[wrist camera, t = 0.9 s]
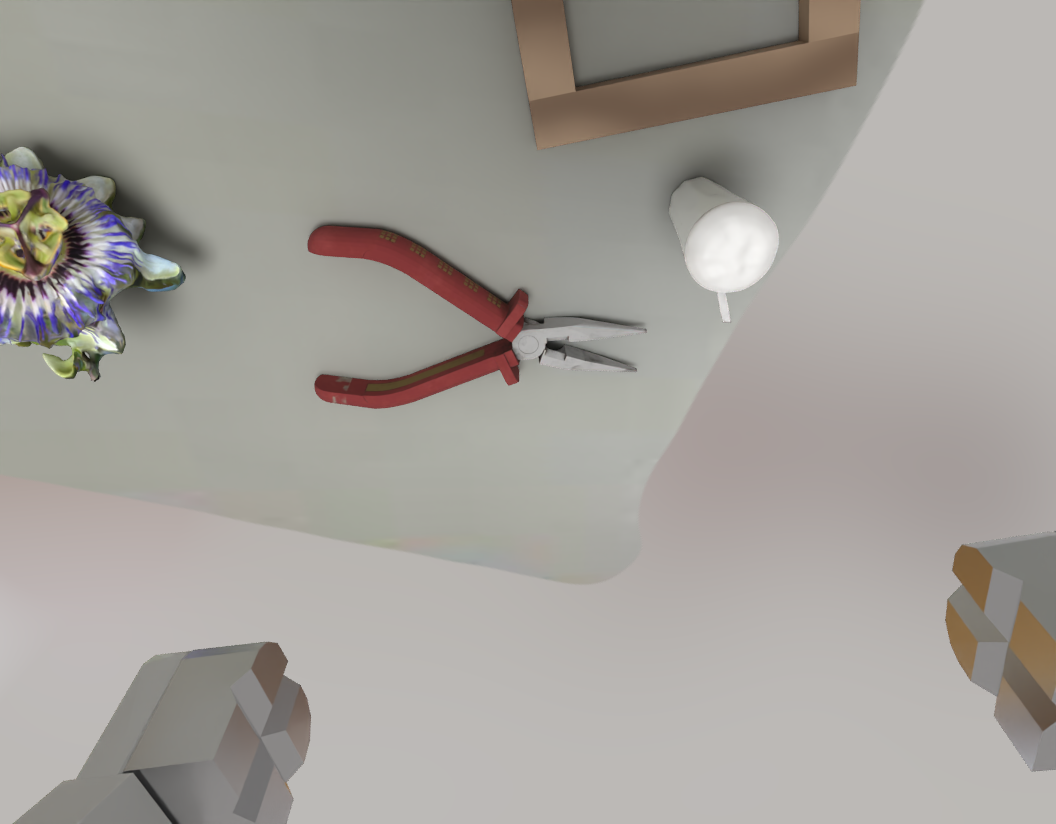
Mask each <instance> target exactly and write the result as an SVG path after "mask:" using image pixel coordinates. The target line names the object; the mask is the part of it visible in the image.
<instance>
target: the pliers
mask: <svg viewBox="0 0 1056 824" xmlns="http://www.w3.org/2000/svg"><path fill="white" fill-rule="evenodd" d="M308 251H309V252H311V253H314V254H317V255H323V256H335V257H348V258H363V259H369V260H373V261H377V262H381V263H384V264H386V265H389V266H391V267H393V268H396V269H398V270H400V271H402V272H403V273H405V274H407V275H409V276H410V277H412V278H413V279H415V280H416V281H418V282H419V283H421V284H423V285H424V286H426V287H427V288H429V289H430V290H432V291H433V292H435V293H436V294H438V295H439V296H441V297H442V298H444V299H446V300H447V301H449V302H450V303H452V304H453V305H455V306H456V307H458V308H459V309H461V310H462V311H464V312H465V313H467V314H469V315H470V316H472V317H473V318H475V319H476V320H478V321H479V322H481V323H482V324H484V325H485V326H487V327H488V328H490V329H492V330H493V331H495V332H496V334H498V335H499V336H501V337H502V338H504V339H501V340H499V341H496V342H493V343H491V344H488V345H485V346H483V347H480V348H478V349H475V350H472V351H470V352H467V353H465V354H462V355H459V356H457V357H454V358H452V359H449V360H446V361H444V362H441V363H439V364H436V365H433V366H431V367H428V368H426V369H423V370H420V371H418V372H415V373H413V374H410V375H407V376H403V377H400V378H395V379H389V380H364V379H356V378H348V377H340V376H332V375H320V376H319V377H318V378H317V379H316V381H315V392H316V394H317V395H318V396H319V397H320V398H321V399H322V400H324V401H326V402H330V403H338V404H345V405H352V406H360V407H367V408H374V409H377V408H389V407H395V406H400V405H404V404H408V403H411V402H415V401H417V400H420V399H423V398H425V397H428V396H431V395H433V394H436V393H439V392H441V391H444V390H447V389H449V388H452V387H455V386H457V385H460V384H463V383H465V382H468V381H471V380H473V379H476V378H479V377H481V376H484V375H487V374H489V373H492V372H495V371H497V370H500V371H501V373H502V375H503V377H504V379H505V381H506V383H507V384H508V385H512V384H515V383H517V382H519V369H518V367H517V365H519V362H520V360H528V359H535V358H537V357H539V364H542V365H546V366H551V367H555V368H561V369H566V370H589V371H620V372H637V369H636V368H634V367H631V366H628V365H626V364H623V363H620V362H617V361H614V360H611V359H608V358H605V357H602V356H600V355H597V354H594V353H591V352H588V351H585V350H582V349H579V348H575V347H572V346H568V345H565V344H564V346H563V347H562V348H561V349H559V350H557V351H554V350H551V349H548V348H547V347H546V345H545V344H547V341H556V340H568V341H569V342H576V341H589V340H597V339H604V338H612V337H619V336H626V335H634V334H641V333H647V330H646V329H643V328H637V327H631V326H625V325H619V324H613V323H607V322H601V321H595V320H589V319H583V318H575V317H550V318H544V324H539V323H538V322H536V321H534V320H530V319H527V318H524V315H523V314H524V312H525V311H526V309H527V307H528V295H527V294H526V293H524V292H523V291H522V290H520V289H518V291H517V292H516V293H515V295H514V296H513V297H512V299H511V300H510V301H509V302H508V304H506V303H505V302H503V301H502V300H500V299H499V298H497V297H496V296H494V295H493V294H491V293H490V292H488V291H487V290H485V289H484V288H482V287H481V286H479V285H478V284H476V283H475V282H473V281H472V280H470V279H469V278H467V277H466V276H464V275H463V274H461V273H460V272H458V271H457V270H455V269H454V268H452V267H451V266H449V265H448V264H447V263H445V262H444V261H442V260H441V259H439V258H438V257H436V256H435V255H433V254H432V253H430V252H429V251H427V250H426V249H424V248H423V247H421V246H419V245H417V244H416V243H414V242H412V241H410V240H408V239H406V238H404V237H401V236H399V235H397V234H394V233H392V232H388V231H385V230H381V229H371V228H356V227H341V226H322V227H319V228H317V229H316V230H314V231H313V232H312V234H311V235H310V237H309V240H308Z"/></svg>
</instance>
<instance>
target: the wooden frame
mask: <svg viewBox="0 0 1056 824" xmlns="http://www.w3.org/2000/svg"><path fill="white" fill-rule="evenodd" d="M860 1H861V0H799V41H794V42H789V43H785V44H780V45H775V46H770V47H766V48H761V49H756V50H751V51H747V52H742V53H737V54H732V55H728V56H723V57H718V58H713V59H708V60H704V61H699V62H694V63H689V64H685V65H680V66H675V67H670V68H666V69H661V70H656V71H651V72H647V73H642V74H637V75H632V76H627V77H623V78H618V79H613V80H608V81H604V82H599V83H594V84H589V85H585V86H580V87H575V83H574V76H573V69H572V62H571V55H570V48H569V41H568V34H567V27H566V20H565V13H564V6H563V0H511V3H512V8H513V14H514V20H515V25H516V31H517V37H518V42H519V48H520V54H521V59H522V65H523V71H524V76H525V82H526V88H527V93H528V99H529V105H530V111H531V116H532V122H533V128H534V133H535V139H536V145H537V150H540V149H545V148H550V147H555V146H560V145H565V144H570V143H575V142H580V141H585V140H590V139H595V138H599V137H604V136H609V135H614V134H619V133H624V132H629V131H634V130H639V129H644V128H649V127H654V126H659V125H664V124H668V123H673V122H678V121H683V120H688V119H693V118H698V117H703V116H708V115H713V114H718V113H723V112H728V111H732V110H737V109H742V108H747V107H752V106H757V105H762V104H767V103H772V102H777V101H782V100H787V99H792V98H797V97H801V96H806V95H811V94H816V93H821V92H826V91H831V90H836V89H841V88H846V87H851V86H856V82H857V62H858V42H859V21H860Z"/></svg>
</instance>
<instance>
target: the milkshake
mask: <svg viewBox="0 0 1056 824" xmlns="http://www.w3.org/2000/svg"><path fill="white" fill-rule="evenodd" d="M669 214H670V217H671V219H672V222H673V225H674V227H675V230H676V233H677V235H678V238H679V241H680V244H681V248H682V252H683V255H684V258H685V262H686V266H687V268H688V270H689V272H690V274H691V276H692V277H693V279H694V280H695V281H696V282H697V283H698V284H699V285H700V286H702V287H703V288H706V289H708V290H711V291H715V292H717V297H718V302H719V308H720V313H721V319H722V322H725V323H731V318H730V312H729V307H728V302H727V297H726V293H728V292H736V291H740V290H744V289H746V288H748V287H750V286H751V285H753V284H754V283H756V282H757V281H758V280H760V279H761V278H762V277H763V276H764V275H765V274H766V273H767V271H768V270H769V269H770V267H771V265H772V263H773V261H774V258H775V256H776V253H777V250H778V246H779V234H778V229H777V226H776V224H775V223H774V221H773V220H772V218H771V217H770V216H769V215H768V214H767V213H766V212H765V211H764V210H763V209H761V208H760V207H758V206H756V205H754V204H752V203H750V202H748V201H746V200H744V199H742V198H740V197H738V196H736V195H735V194H733V193H732V192H730V191H729V190H727V189H726V188H724V187H722V186H721V185H719V184H717V183H715V182H713V181H711V180H709V179H707V178H705V177H699V178H694V179H690V180H685V181H684V182H683V183H682V184H681V185H680V186H679V187H678V188H677V189H676V190H675V191H674V192H673V193H672V197H671V202H670V207H669Z"/></svg>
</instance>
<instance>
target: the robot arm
mask: <svg viewBox="0 0 1056 824" xmlns="http://www.w3.org/2000/svg"><path fill="white" fill-rule="evenodd" d="M952 571H953V573H954V574H955V575H956V576H957V578H958V579H959V580H960V582H961V583H962V585H961V586H960V587H959V588H958V589H957V590H956V591H955V592H954V593H953V594H952V595H951V596H950V597H949V598H948V600H947V610H946V619H945V621H946V626H947V631H948V635H949V639H950V644H951V646H952V649H953V651H954V653H955V655H956V658H957V660H958V662H959V664H960V665H961V667H962V668H963V670H964V671H965V673H966V674H967V676H968V677H969V679H970V681H972V682H973V683H975V684H977V685H978V686H980V687H982V688H983V689H985V690H987V691H988V692H990V693H992V694H993V695H995V696H997V698H996V705H995V711H994V716H995V718H996V720H997V721H998V722H999V724H1000V725H1001V727H1002V729H1003V730H1004V731H1005V733H1006V734H1007V736H1008V737H1009V739H1010V740H1011V742H1012V743H1013V745H1014V746H1015V748H1016V749H1017V751H1018V752H1019V754H1020V755H1021V757H1022V758H1023V760H1024V761H1025V762H1026V764H1027V765H1028V767H1029V768H1030V770H1031V771H1043V770H1056V531H1055V532H1043V533H1037V534H1030V535H1023V536H1016V537H1009V538H1003V539H996V540H990V541H983V542H976V543H969V544H962V545H961V547H960V548H959V549H958V551H957V552H956V553H955V557H954V562H953V568H952ZM287 663H288V660H287V658H286V657H285V655H284V653H283V652H282V650H281V648H280V646H279V645H278V643H273V642H260V643H251V644H243V645H234V646H225V647H216V648H208V649H198V650H193V651H188V652H179V653H170V654H161V655H155V656H154V657H152V658H151V659H150V660H148V661H147V662H145V663H144V664H143V665H142V667H141V669H140V670H139V672H138V674H137V675H136V677H135V679H134V681H133V682H132V684H131V686H130V688H129V689H128V691H127V693H126V694H125V696H124V698H123V699H122V701H121V703H120V705H119V706H118V708H117V710H116V712H115V713H114V715H113V717H112V718H111V720H110V722H109V723H108V725H107V727H106V729H105V730H104V732H103V734H102V735H101V737H100V739H99V740H98V742H97V744H96V746H95V747H94V749H93V751H92V753H91V754H90V756H89V758H88V759H87V761H86V763H85V765H84V766H83V768H82V770H81V771H80V773H79V775H78V776H77V778H76V779H74V780H68V781H63V782H62V783H60V784H59V785H58V786H57V787H56V788H54V789H53V790H52V791H51V792H50V793H49V794H47V795H46V796H45V797H44V798H43V799H41V800H40V801H39V802H38V803H37V804H36V805H34V806H33V807H32V808H31V809H30V810H28V811H27V812H26V813H25V814H24V815H22V816H21V817H20V818H19V819H18V820H17V821H15V822H14V823H13V824H286V823H287V819H288V816H289V813H290V809H291V805H292V802H293V797H292V794H291V792H290V789H289V787H288V785H287V781H288V780H289V779H290V778H291V777H292V776H293V775H294V773H295V772H296V771H297V770H298V769H299V768H300V767H301V765H303V764H304V761H305V757H306V753H307V749H308V746H309V742H310V725H311V714H310V710H309V705H308V701H307V697H306V695H305V693H304V691H303V689H302V687H301V685H300V684H298V683H296V682H294V681H292V680H291V679H289V678H288V677H286V676H284V675H283V674H284V671H285V668H286V665H287Z"/></svg>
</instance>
